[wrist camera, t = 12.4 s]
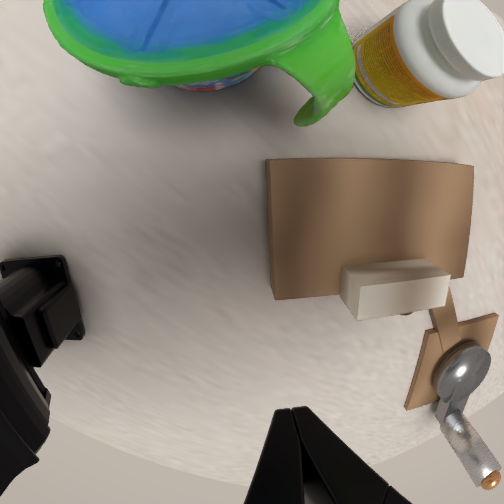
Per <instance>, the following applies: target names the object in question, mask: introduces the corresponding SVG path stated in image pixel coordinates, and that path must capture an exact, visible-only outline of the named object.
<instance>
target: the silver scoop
mask: <svg viewBox="0 0 504 504" xmlns="http://www.w3.org/2000/svg"><path fill="white" fill-rule="evenodd" d="M490 363H491V356H490V354H489V353H488V352H487V351H486V350H485V349H484V348H483V347H482V346H481V345H480V344H479V343H477V342H475V341H470V342H466V343H464V344H462V345H460V346H458V347H457V348H455V349H454V350H453V351H452V352H451V353H450V354H449V355H448V356H447V357H446V358H445V359H444V360H443V361H442V363H441V364H440V366H439V367H438V369H437V371H436V373H435V376H434V379H433V388H434V390H435V391H436V392H437V394H438V395H439V396H440V401H439V404H438V407H437V410H436V413H435V417H436V418H437V420H438V421H439V423H440V424H441V425H440V430H441V431H442V433H443V434H444V436H445V437H446V439H447V440H448V442H449V443H450V445H451V447H452V448H453V450H454V451H455V453H456V454H457V456H458V458H459V459H460V461H461V462H462V464H463V466H464V467H465V469H466V470H467V472H468V474H469V475H470V477H471V479H472V480H473V482H474V484H475V485H476V487H479V486H482V488H483V489H485V490H490V489H493V488H495V487H496V486H497V485H498V484H499V482H500V479H501V474H500V472H499V470H500V469H501V465H500V464H499V463H498V461H497V460H496V458H495V457H494V455H493V454H492V452H491V451H490V450H489V448H488V447H487V445H486V444H485V443H484V441H483V440H482V439H481V437H480V436H479V434H478V433H477V432H476V430H475V429H474V428H473V426H472V425H471V423H470V422H469V421H468V419H467V418H466V417H465V415H464V414H463V413H462V412H463V410H464V408H465V405H466V403H467V400H468V398H469V395H470V394H471V393H472V392H473V391H474V390H475V389H476V388H477V387H478V386H479V385H480V383H481V382H482V381H483V379H484V378H485V376H486V374H487V372H488V370H489V367H490Z"/></svg>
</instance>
